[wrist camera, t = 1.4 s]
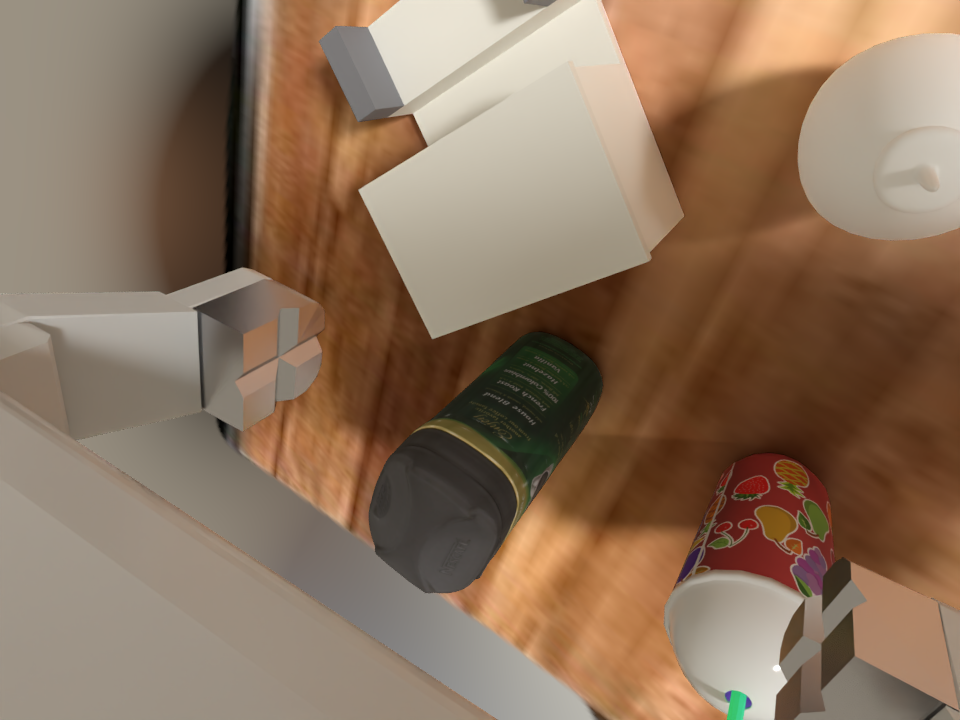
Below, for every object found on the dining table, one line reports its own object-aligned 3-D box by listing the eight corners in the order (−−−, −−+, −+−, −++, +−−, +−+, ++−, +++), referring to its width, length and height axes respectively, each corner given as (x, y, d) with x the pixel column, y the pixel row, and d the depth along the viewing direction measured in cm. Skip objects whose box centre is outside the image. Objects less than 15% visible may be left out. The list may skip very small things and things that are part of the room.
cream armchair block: (566, -101, 33) (484, -143, 26) (688, 217, 37) (648, 261, 30) (386, 43, 42) (285, 42, 34) (500, 290, 46) (432, 339, 38)
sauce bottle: (1014, 25, 27) (1196, 2, 13) (971, 203, 30) (1081, 338, 16) (816, 44, 31) (791, 43, 17) (796, 201, 34) (761, 312, 20)
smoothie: (684, 481, 45) (596, 716, 29) (765, 410, 40) (712, 648, 24) (780, 558, 44) (743, 846, 28) (876, 494, 39) (897, 802, 23)
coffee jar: (528, 311, 45) (376, 437, 31) (621, 367, 43) (508, 530, 29) (485, 404, 51) (339, 548, 36) (566, 457, 49) (448, 631, 34)
